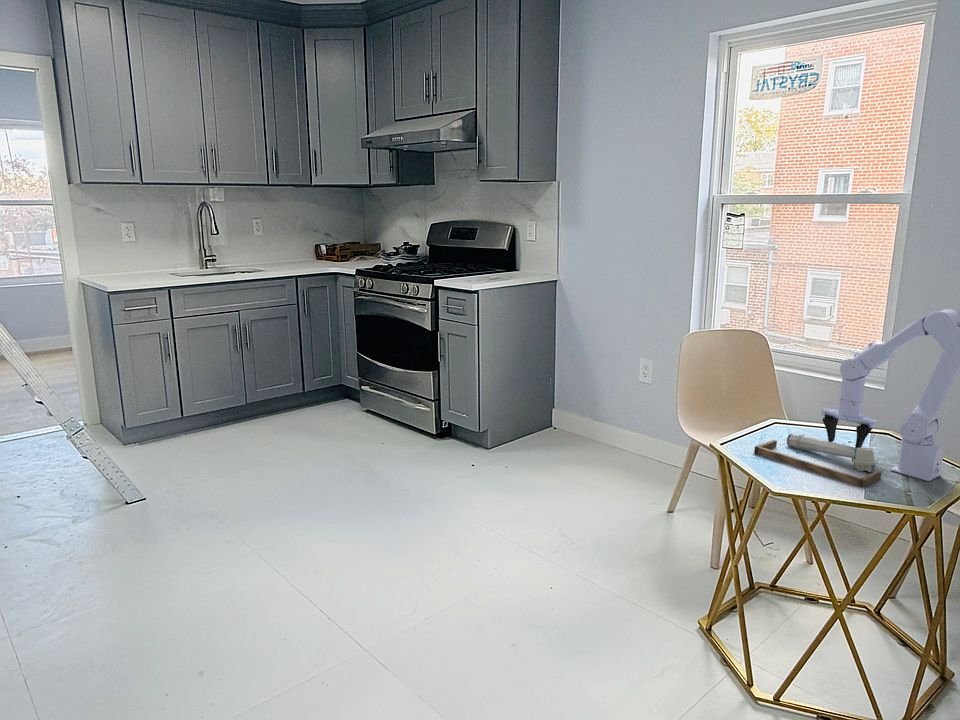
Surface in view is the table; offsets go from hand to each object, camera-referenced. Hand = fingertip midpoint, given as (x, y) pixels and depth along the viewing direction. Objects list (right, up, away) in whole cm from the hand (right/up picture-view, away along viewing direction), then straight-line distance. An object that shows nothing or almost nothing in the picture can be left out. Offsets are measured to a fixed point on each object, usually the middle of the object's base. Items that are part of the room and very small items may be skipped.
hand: (844, 445), depth 197 cm
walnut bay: (-13, -4, -9) cm, 17 cm away
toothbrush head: (-6, -4, -4) cm, 8 cm away
